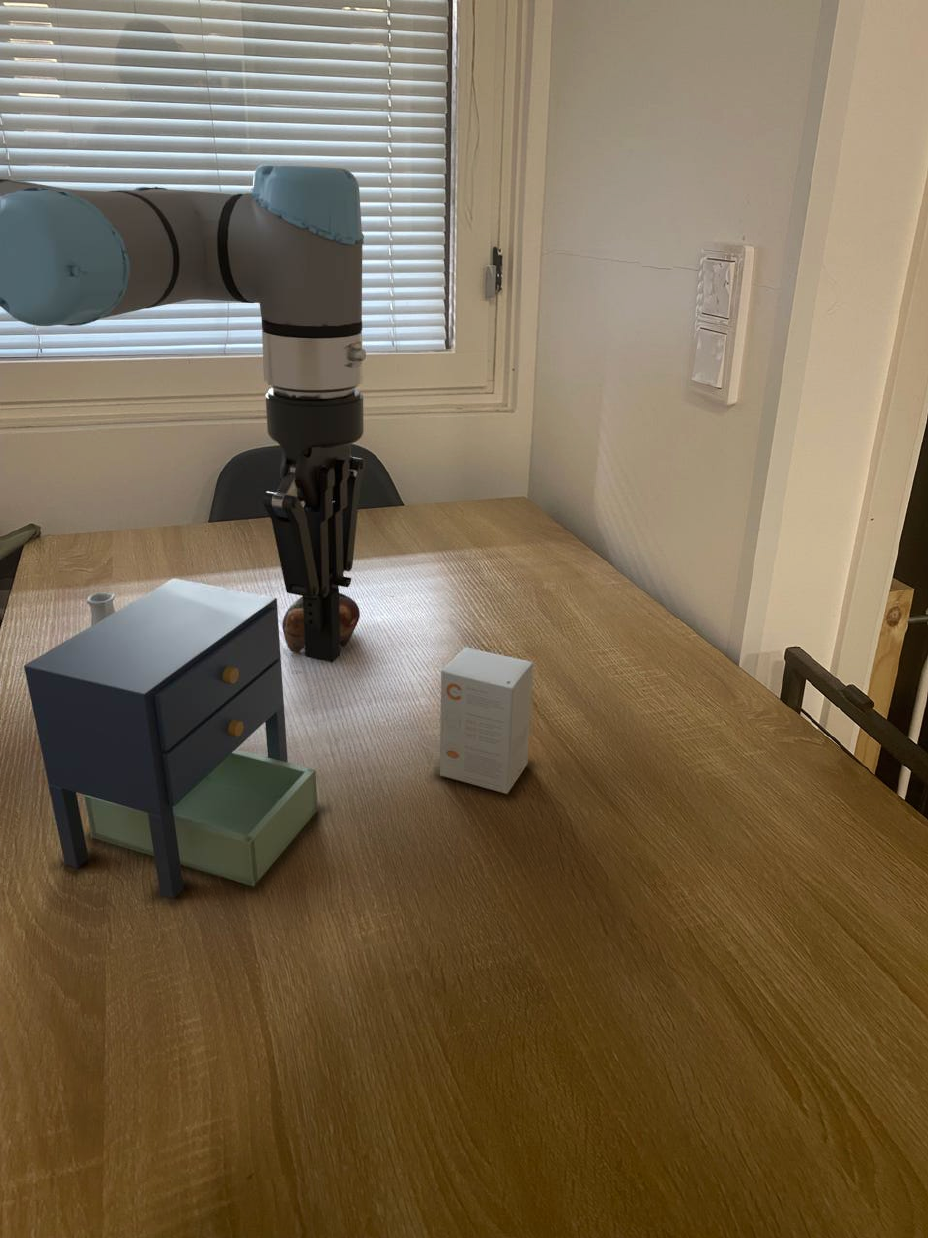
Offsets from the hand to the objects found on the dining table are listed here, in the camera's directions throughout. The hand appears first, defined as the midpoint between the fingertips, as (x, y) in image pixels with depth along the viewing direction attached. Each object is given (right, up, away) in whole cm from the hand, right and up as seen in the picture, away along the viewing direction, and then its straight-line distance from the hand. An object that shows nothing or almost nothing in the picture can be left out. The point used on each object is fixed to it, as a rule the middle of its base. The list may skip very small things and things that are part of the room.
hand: (323, 655), depth 81 cm
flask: (-33, -3, +37) cm, 50 cm away
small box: (+15, -13, +19) cm, 27 cm away
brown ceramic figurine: (-7, -1, +44) cm, 44 cm away
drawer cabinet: (-15, -16, +10) cm, 25 cm away
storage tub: (-13, -17, +9) cm, 23 cm away
